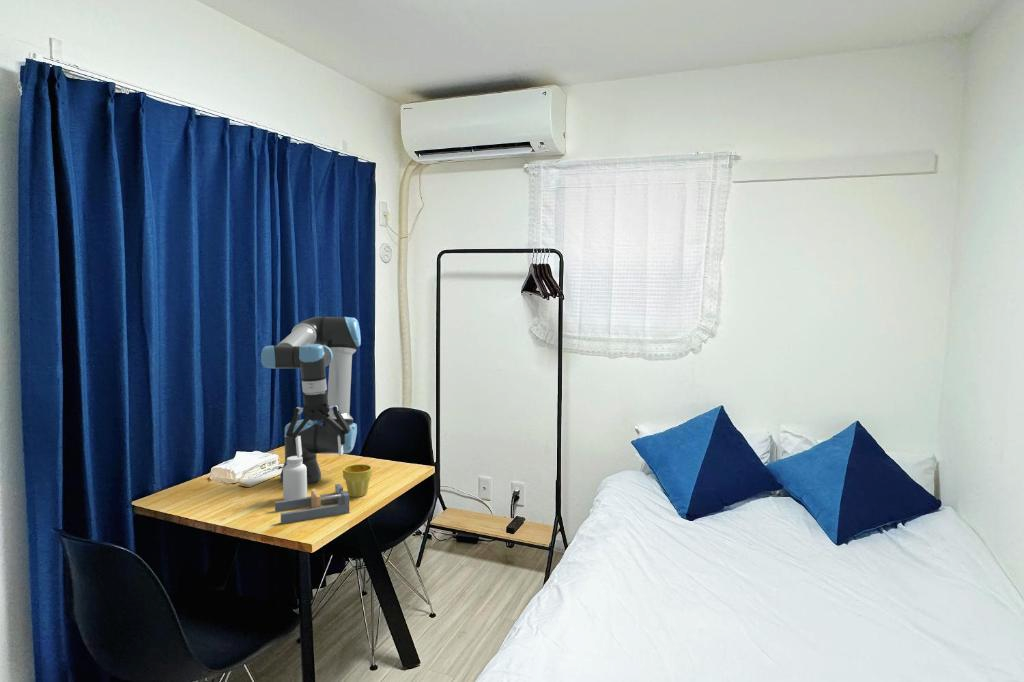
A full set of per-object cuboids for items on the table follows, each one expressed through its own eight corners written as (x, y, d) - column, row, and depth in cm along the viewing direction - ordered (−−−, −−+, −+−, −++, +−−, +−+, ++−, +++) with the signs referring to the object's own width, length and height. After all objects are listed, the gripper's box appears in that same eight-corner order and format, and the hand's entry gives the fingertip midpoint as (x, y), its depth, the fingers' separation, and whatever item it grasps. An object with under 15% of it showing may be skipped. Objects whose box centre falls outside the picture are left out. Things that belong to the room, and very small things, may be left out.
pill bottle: (286, 495, 212) (286, 454, 211) (309, 495, 213) (309, 454, 212) (280, 503, 205) (279, 461, 203) (303, 503, 205) (303, 461, 204)
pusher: (316, 514, 194) (316, 497, 194) (311, 506, 202) (311, 489, 201) (347, 509, 199) (348, 492, 199) (341, 501, 207) (341, 484, 206)
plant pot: (339, 498, 210) (339, 472, 209) (347, 489, 221) (347, 463, 220) (368, 499, 211) (368, 472, 210) (374, 489, 221) (374, 464, 220)
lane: (281, 524, 187) (281, 505, 186) (274, 510, 198) (274, 493, 197) (349, 512, 197) (349, 495, 197) (339, 500, 209) (339, 483, 208)
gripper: (271, 396, 187) (278, 460, 190) (350, 393, 187) (355, 457, 190) (280, 391, 194) (286, 453, 197) (356, 387, 195) (361, 449, 198)
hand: (320, 455), depth 194 cm, fingers open, 13 cm apart
